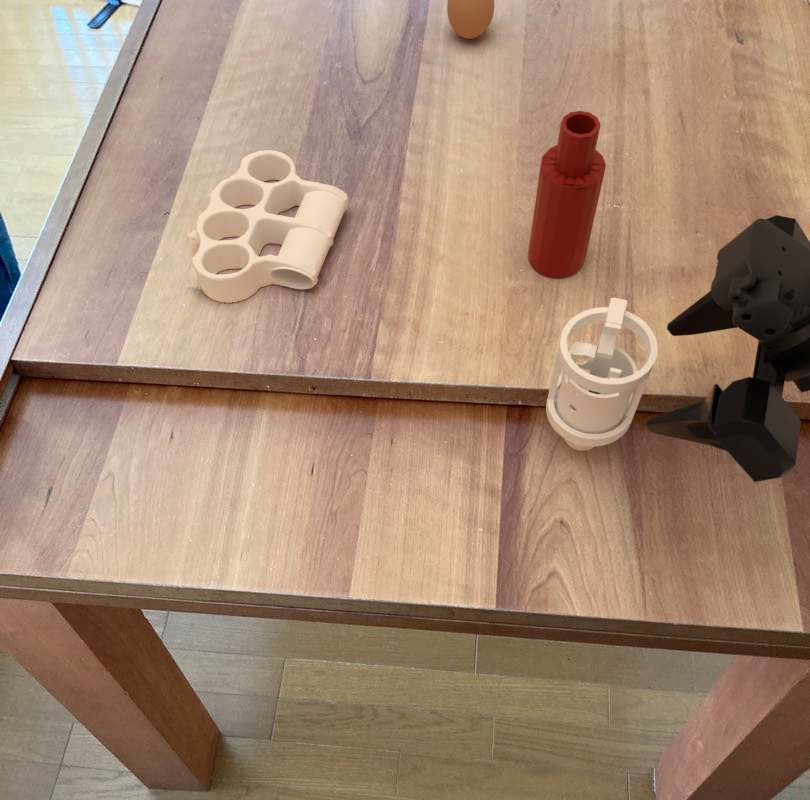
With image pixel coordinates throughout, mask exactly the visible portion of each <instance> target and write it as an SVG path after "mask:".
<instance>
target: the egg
mask: <svg viewBox="0 0 810 800" xmlns="http://www.w3.org/2000/svg"><path fill="white" fill-rule="evenodd" d="M446 7H447V9H446V10H447V11H446V13H447V19H448V22H449V24H450V26H451V28H452V29H453V31H454V32H455V33H456V34H457V35H459V36H460V37H461V38H464V39H470V40H471V39H476V38H478V37H479V36H481V35H482V34H483V33H485V32H486V31H487V29H488V28H489V26H490V24H491V23H492V20H493V18H494V13H495V0H447V5H446Z"/></svg>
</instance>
